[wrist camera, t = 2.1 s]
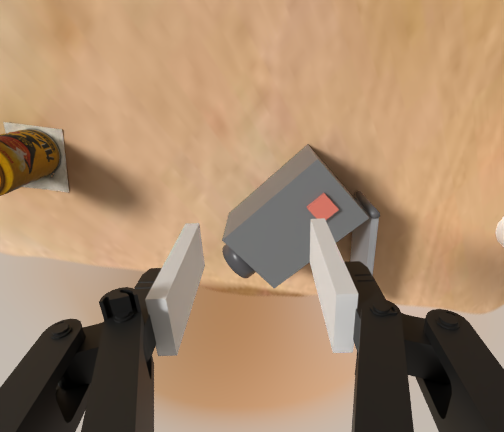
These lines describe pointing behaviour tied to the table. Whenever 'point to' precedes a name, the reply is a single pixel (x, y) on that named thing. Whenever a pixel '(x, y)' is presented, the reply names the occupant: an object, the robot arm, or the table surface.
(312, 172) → the camera box
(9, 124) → the condiment
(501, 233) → the foam cup
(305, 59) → the table surface
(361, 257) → the side door
